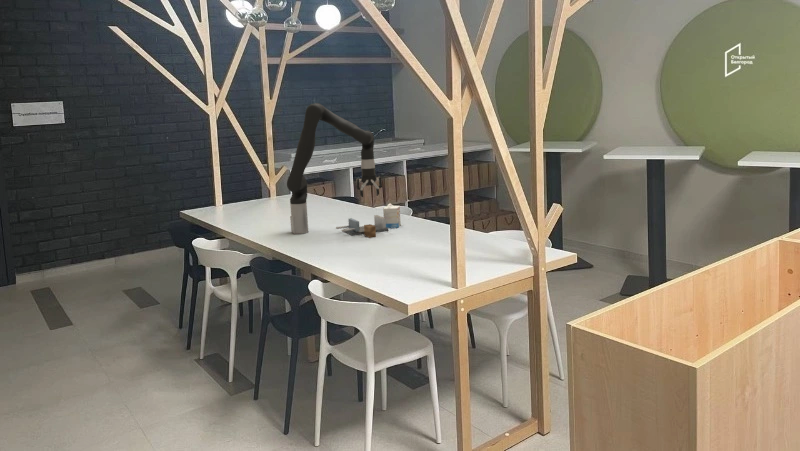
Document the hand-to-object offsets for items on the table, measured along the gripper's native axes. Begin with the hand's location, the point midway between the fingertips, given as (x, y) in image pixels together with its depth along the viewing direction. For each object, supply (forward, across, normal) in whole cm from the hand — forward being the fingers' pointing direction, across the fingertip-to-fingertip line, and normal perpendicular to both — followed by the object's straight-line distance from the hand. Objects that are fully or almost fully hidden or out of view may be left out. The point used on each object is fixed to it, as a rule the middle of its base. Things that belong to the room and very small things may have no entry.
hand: (369, 196), depth 380 cm
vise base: (+21, -2, +6) cm, 22 cm away
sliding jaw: (+19, -13, +3) cm, 23 cm away
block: (+21, -3, -9) cm, 23 cm away
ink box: (+21, +14, +12) cm, 29 cm away
